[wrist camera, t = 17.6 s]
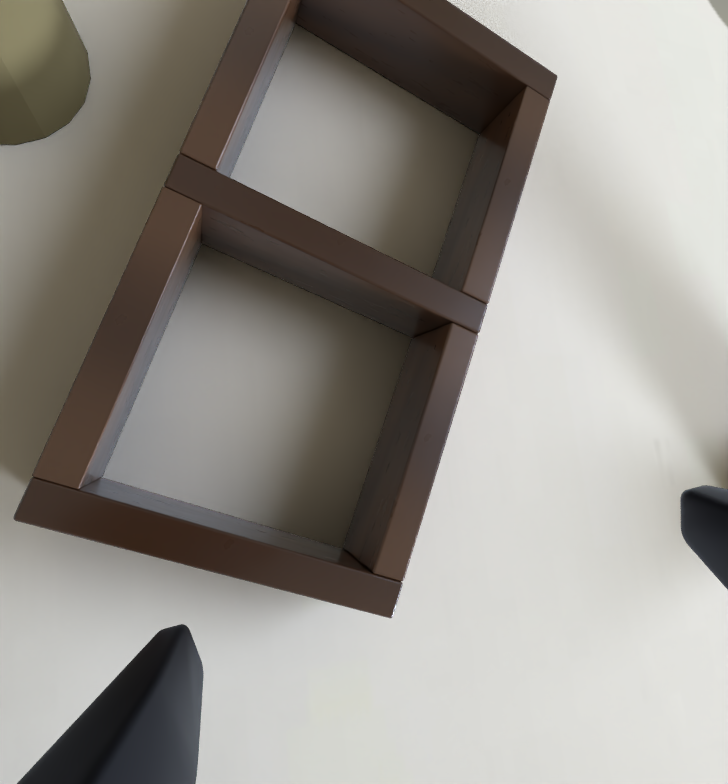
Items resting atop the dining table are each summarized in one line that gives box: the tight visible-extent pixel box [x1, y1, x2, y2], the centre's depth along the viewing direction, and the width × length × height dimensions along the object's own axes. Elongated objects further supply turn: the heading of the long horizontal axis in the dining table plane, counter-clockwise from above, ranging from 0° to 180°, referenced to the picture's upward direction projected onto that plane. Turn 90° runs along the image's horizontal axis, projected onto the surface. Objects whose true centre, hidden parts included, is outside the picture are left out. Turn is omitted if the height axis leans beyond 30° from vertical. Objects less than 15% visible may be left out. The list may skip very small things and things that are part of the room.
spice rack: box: [14, 0, 557, 618], centre depth 18 cm, size 22×11×4 cm, turn 161°
